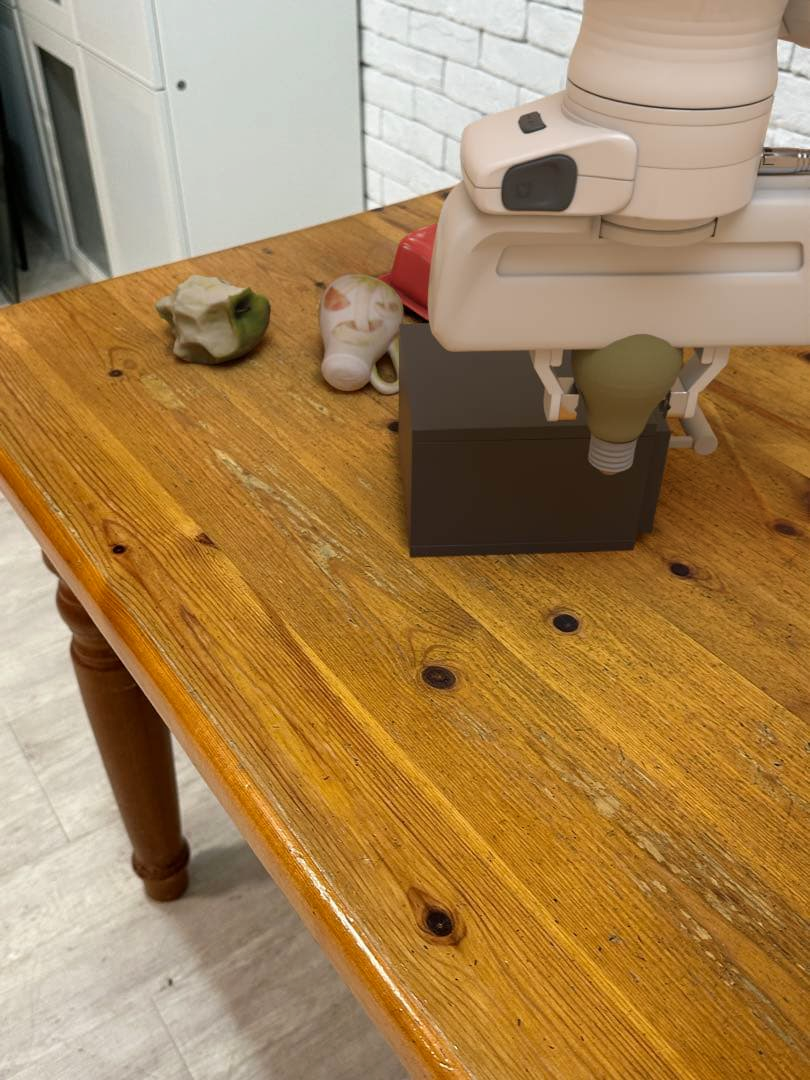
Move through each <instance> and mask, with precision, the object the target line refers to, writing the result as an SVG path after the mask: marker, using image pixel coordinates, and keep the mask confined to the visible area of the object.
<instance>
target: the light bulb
mask: <svg viewBox="0 0 810 1080" xmlns="http://www.w3.org/2000/svg"><path fill="white" fill-rule="evenodd" d="M683 360H684V348H676V347H673V346H672V345H670V344H669V343H668V342H667V341H665V340H663V339H661V338H658V337H655V336H653V335H648V334H636V335H632V336H628V337H626V338H623V339H620V340H617V341H615V342H613V343H611V344H610V345H608V346H606V347H604V348H602V349H578V350H571V364H572V370H573V374H574V378H575V381H576V383H577V386H578V388H579V391H580V393H581V395H582V398H583V401H584V404H585V409H586V419H587V424H588V427H589V429H590V431H591V440H590V447H589V453H588V460H589V462H590V463H591V464H592V465H593V466H594V467H596V468H597V469H599V470H600V471H601V472H602V473H604V474H607V475H613V474H616V473H618V472H620V471H624V470H627V469H628V468H630V467H631V466H632V463H633V458H634V452H635V447H636V442H637V439H638V438H639V436H640V434H641V432H642V431H643V430H644V427H645V425H646V423H647V421H648V418H649V417H650V415H651V413H652V412H653V410H654V409H655V408H656V406H657V405H658V404H659V403H660V402H661V401H662V399H663V398H664V397H665V396H666V395H667V394H668V392H669V391H670V390H671V388H672V387H673V385H674V384H675V382H676V379H677V377H678V375H679V373H680V371H681V369H682V368H683V367H682V366H683V362H684V361H683Z"/></svg>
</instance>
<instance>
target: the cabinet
mask: <svg viewBox="0 0 810 1080" xmlns="http://www.w3.org/2000/svg"><path fill="white" fill-rule="evenodd" d="M553 368H554V370H555V372H556V374H557V376H558V377H571V378H574V374H573V370H572V364H571V350H563V356H562V364H561V365H560V366H555V367H553ZM574 381H575V378H574ZM575 383H576V381H575ZM575 387H576V388H577V389H578V392H579V403H578V406H577V407H576V411H577V417H576V420H575V421H547V418H546V415H545V412H544V392H545V386H544V384H543V383H542V381H541V379H540V377H539V375H538V374H537V372H536V370H535V368H534V366H533V363H532V359H531V356H530V353H529V350H520V351H464V352H452V351H448V350H446V349H445V348H444V347H443V346H442V345H441V344H440V343H439V342H438V341H437V339H436V338H435V337H434V335H433V334H432V332H431V328H430V324H429V322H428V323H427V322H425V323H424V322H423V323H403V324H399V391H398V412H397V413H398V420H397V425H398V427H397V428H398V429H397V435H398V436H397V443H398V444H397V445H398V453H399V462H400V472H401V482H402V491H403V492H402V494H403V502H404V511H405V521H406V532H407V541H408V552H409V557H410V558H426V557H427V558H429V557H460V556H461V557H462V556H463V557H464V556H493V555H494V556H495V555H526V554H557V553H559V554H561V553H590V552H623V551H628V552H629V551H634V550H635V545H636V539H637V534H638V533H637V529H638V523H639V518H640V513H641V507H642V502H643V497H644V491H645V486H646V481H647V475H648V470H649V465H650V459H651V454H652V449H653V443H654V438H655V433H656V428H657V423H656V421H655V419H654V416H653V414H652V413H651V415H650V417H649V418H648V421H647V423H646V425H645V427H644V430H643V431H642V432H641V434H640V436H639V438H638V439H637V442H636V447H635V452H634V458H633V463H632V466H631V467H630V468H628V469H627V470H624V471H620V472H618V473H616V474H613V475H607V474H604V473H602V472H601V471H600V470H599V469H597V468H596V467H594V466H593V465H592V464H591V463H590V462H589V460H588V453H589V447H590V440H591V431H590V429H589V427H588V424H587V419H586V409H585V404H584V401H583V398H582V395H581V393H580V391H579V388H578V386H577V383H576V385H575Z"/></svg>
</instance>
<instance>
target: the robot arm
mask: <svg viewBox="0 0 810 1080" xmlns="http://www.w3.org/2000/svg"><path fill="white" fill-rule="evenodd" d="M581 15H582V16H581V22H580V27H579V31H578V34H577V36H576V37H577V38H576V39H575V43H574V45H573V47H572V51H571V53H570V56H569V59H568V64H567V70H566V78H565V89H562V90H560V91H557V92H554V93H552V94H549V95H547V96H544V97H541V98H538V99H536V100H532V101H530V102H527V103H524V104H521V105H518V106H514V107H511V108H508V109H506V110H502V111H500V112H496V113H493V114H490V115H487V116H484V117H481V118H478V119H476V120H474V121H472V122H470V123H469V124H467V125H466V126H465V127H464V128H463V131H462V132H461V139H460V146H459V163H460V172H461V175H462V180H461V181H460V182H458V183H457V184H456V185H455V186H454V187H453V188H452V189H451V190H450V192H449V193H448V195H447V196H446V198H445V200H444V203H443V205H442V208H441V211H440V214H439V218H438V222H437V223H438V226H437V230H436V236H435V241H434V246H433V253H432V259H431V267H430V276H429V287H428V316H429V321H428V323H429V324H430V328H431V332H432V334H433V335H434V337H435V338H436V339H437V341H438V342H439V343H440V344H441V345H442V346H443V347H444V348H445V349H446V350H448V351H452V352H464V351H520V350H529V353H530V356H531V359H532V363H533V366H534V368H535V370H536V372H537V374H538V375H539V377H540V379H541V381H542V383H543V384H544V386H545V392H544V412H545V415H546V418H547V421H575V420H576V417H577V411H576V407H577V406H578V403H579V392H578V389H577V388H576V387H575V385H576V383H575V381H574V378H571V377H558V376H557V374H556V372H555V370H554V368H553V367H555V366H560V365H561V364H562V356H563V350H578V349H602V348H604V347H606V346H608V345H610V344H611V343H613V342H615V341H617V340H620V339H623V338H626V337H628V336H632V335H636V334H648V335H653V336H655V337H658V338H661V339H663V340H665V341H667V342H668V343H669V344H670V345H672V346H673V347H676V348H683V349H685V348H686V349H689V348H693V350H694V353H693V354H692V355H691V356H690V358H689V359H688V360H687V361H686V363H685V364H684V365H683V367H681V370H680V373H679V375H678V377H677V379H676V382H675V384H674V385H673V387H672V388H671V390H670V391H669V392H668V394H667V395H666V396H665V397H664V398H663V399H662V401H661V402H660V403H659V404H658V406H659V409H660V411H661V412H662V413H663V414H662V416H663V418H664V419H666V420H668V419H669V420H670V419H678V418H693V416H694V412H695V408H696V403H698V399H699V398H698V397H699V393H702V392H703V391H704V390H705V389H706V388H707V387H708V386H709V384H710V383H711V382H712V381H713V380H714V379H715V378H716V377H717V376H718V375H719V373H721V371H722V370H724V368H725V367H726V366H727V365H728V363H729V359H730V354H731V351H732V348H743V347H745V348H746V347H806V346H809V347H810V148H800V147H792V146H791V147H789V146H779V147H778V146H776V147H775V146H765V141H766V136H767V132H768V128H769V123H770V119H771V114H772V111H773V110H772V109H773V104H774V101H775V97H776V95H775V92H776V90H777V87H778V80H779V63H778V61H779V60H778V40H780V41H785V42H788V43H793V44H795V45H797V46H799V47H800V48H803V49H808V50H810V0H582V14H581Z"/></svg>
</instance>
